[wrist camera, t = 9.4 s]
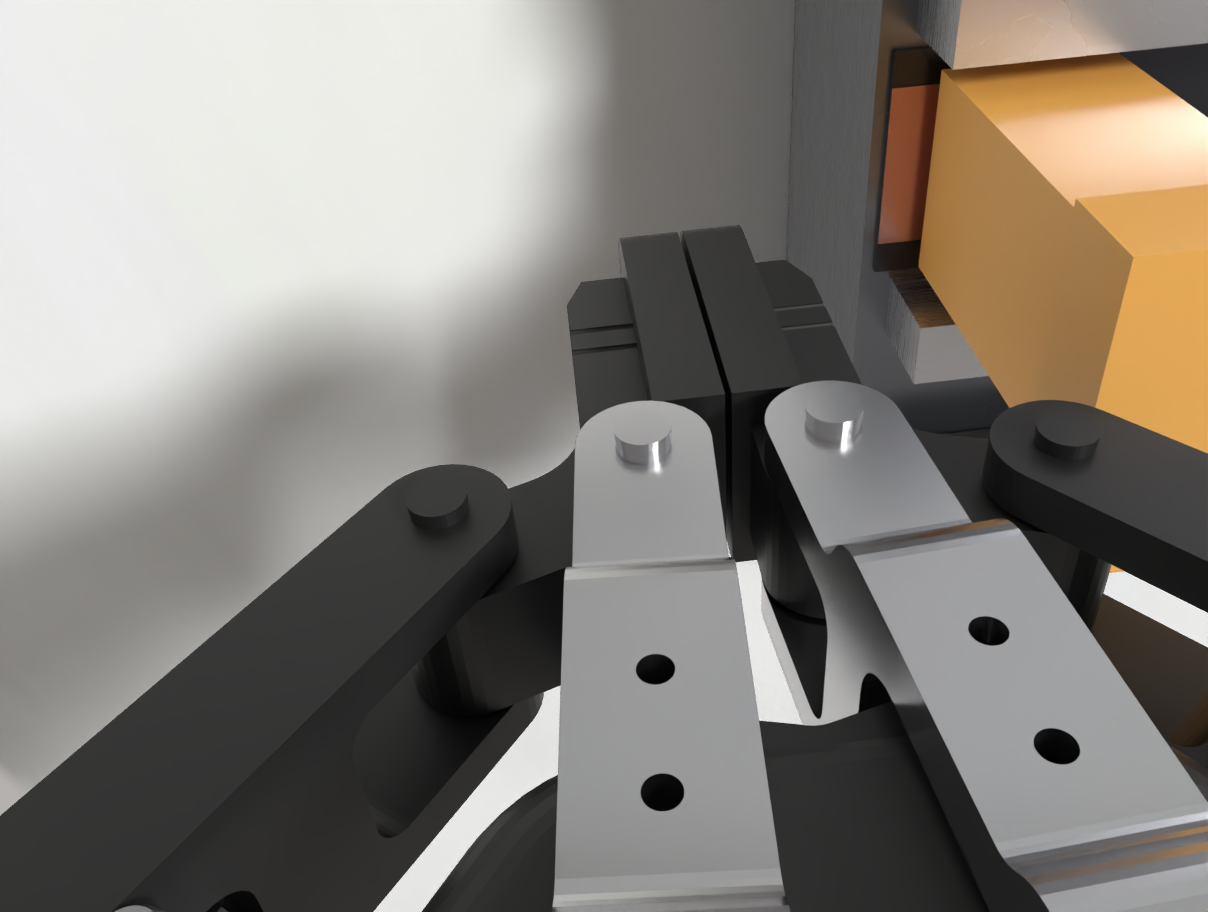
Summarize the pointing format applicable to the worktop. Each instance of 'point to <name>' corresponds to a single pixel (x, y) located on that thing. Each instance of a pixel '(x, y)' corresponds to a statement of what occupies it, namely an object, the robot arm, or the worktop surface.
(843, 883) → the robot arm
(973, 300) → the breaker handle
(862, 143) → the breaker box
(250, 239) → the worktop surface
